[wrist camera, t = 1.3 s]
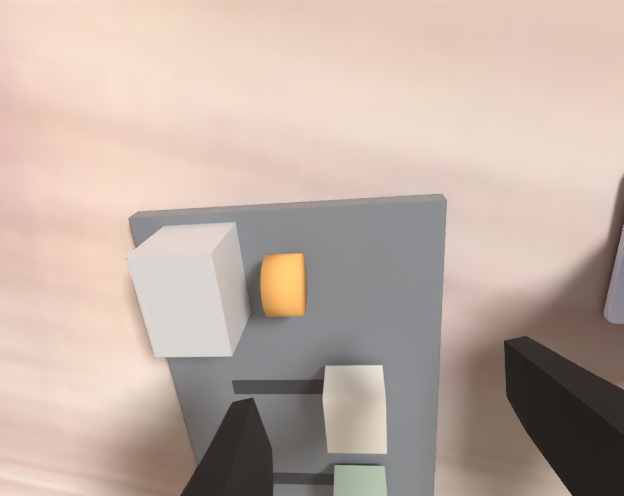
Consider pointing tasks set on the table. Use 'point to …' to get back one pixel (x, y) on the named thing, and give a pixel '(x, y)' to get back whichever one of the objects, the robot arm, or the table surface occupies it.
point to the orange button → (284, 285)
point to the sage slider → (359, 480)
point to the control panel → (300, 324)
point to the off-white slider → (355, 409)
